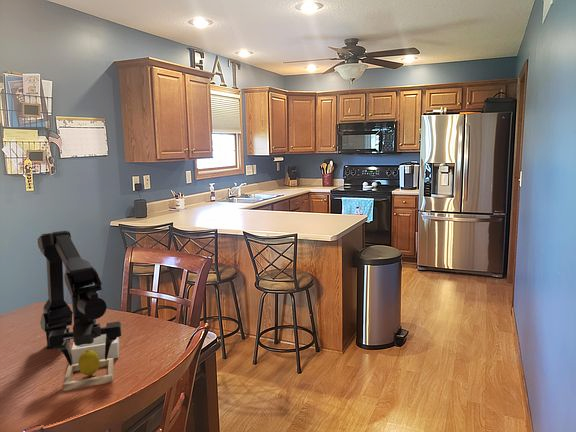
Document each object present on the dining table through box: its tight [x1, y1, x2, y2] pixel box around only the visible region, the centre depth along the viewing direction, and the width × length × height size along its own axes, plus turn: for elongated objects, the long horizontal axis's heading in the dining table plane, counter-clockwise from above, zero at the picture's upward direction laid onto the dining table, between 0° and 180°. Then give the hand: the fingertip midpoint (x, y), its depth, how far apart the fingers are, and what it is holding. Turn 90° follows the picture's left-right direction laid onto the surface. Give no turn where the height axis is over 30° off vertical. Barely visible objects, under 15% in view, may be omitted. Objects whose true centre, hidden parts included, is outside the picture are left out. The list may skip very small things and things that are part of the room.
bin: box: [71, 334, 120, 364], centre depth 144 cm, size 13×13×5 cm
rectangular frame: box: [62, 358, 115, 392], centre depth 129 cm, size 12×12×2 cm
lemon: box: [78, 350, 100, 377], centre depth 129 cm, size 6×6×8 cm
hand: (88, 362), depth 129 cm, fingers open, 9 cm apart
